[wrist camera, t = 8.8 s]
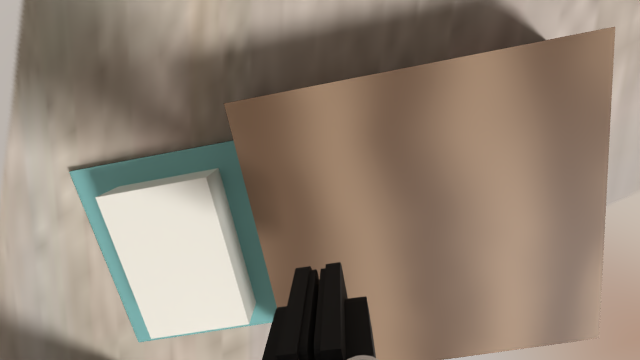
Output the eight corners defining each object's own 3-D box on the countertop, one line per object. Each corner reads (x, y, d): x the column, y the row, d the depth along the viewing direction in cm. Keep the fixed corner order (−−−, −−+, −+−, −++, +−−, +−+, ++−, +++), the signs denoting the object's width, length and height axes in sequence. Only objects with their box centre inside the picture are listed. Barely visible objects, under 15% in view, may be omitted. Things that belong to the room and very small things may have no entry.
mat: (249, 137, 18) (248, 138, 18) (293, 316, 21) (293, 319, 21) (73, 170, 19) (69, 171, 19) (141, 338, 22) (138, 342, 22)
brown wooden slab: (547, 41, 17) (615, 26, 13) (547, 291, 21) (599, 338, 17) (245, 100, 18) (223, 103, 14) (301, 328, 22) (295, 379, 18)
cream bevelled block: (95, 197, 17) (118, 186, 19) (151, 339, 19) (166, 316, 21) (206, 177, 16) (218, 168, 18) (248, 324, 19) (256, 302, 21)
